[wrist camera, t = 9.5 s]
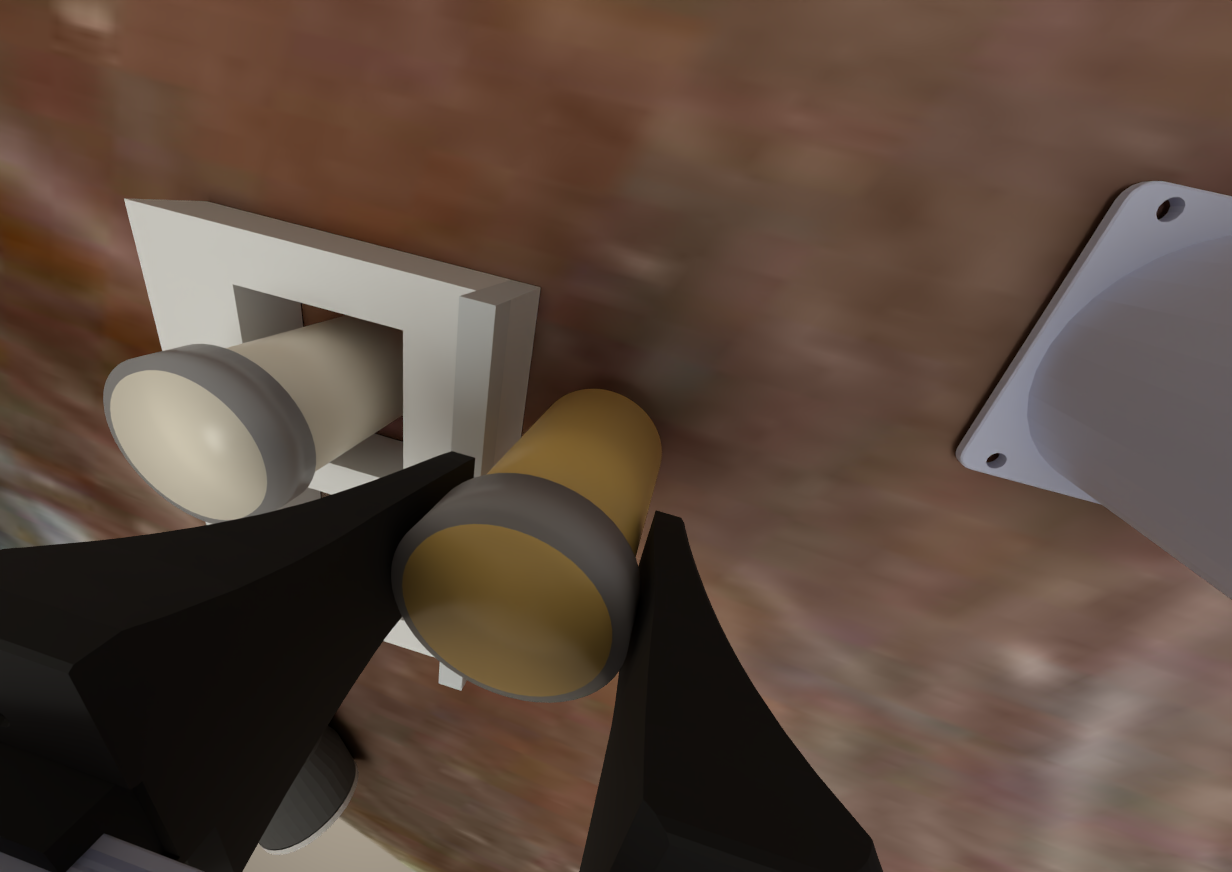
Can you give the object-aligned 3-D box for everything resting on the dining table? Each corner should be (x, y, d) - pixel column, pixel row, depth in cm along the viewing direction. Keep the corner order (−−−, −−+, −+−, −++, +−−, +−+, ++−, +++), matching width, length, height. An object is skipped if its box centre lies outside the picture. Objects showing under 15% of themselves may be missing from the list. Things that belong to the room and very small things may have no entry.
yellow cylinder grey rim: (690, 403, 13) (657, 565, 7) (651, 527, 15) (599, 736, 9) (539, 360, 14) (384, 477, 7) (522, 487, 16) (389, 660, 10)
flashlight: (188, 575, 25) (66, 658, 21) (264, 573, 24) (153, 661, 19) (310, 752, 31) (237, 848, 27) (376, 758, 30) (312, 861, 25)
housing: (540, 287, 15) (495, 305, 12) (496, 624, 22) (461, 690, 19) (206, 201, 16) (83, 197, 13) (269, 553, 23) (200, 605, 20)
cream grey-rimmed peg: (436, 325, 16) (264, 394, 10) (428, 437, 18) (283, 551, 12) (316, 288, 16) (73, 332, 10) (322, 402, 18) (125, 497, 12)
